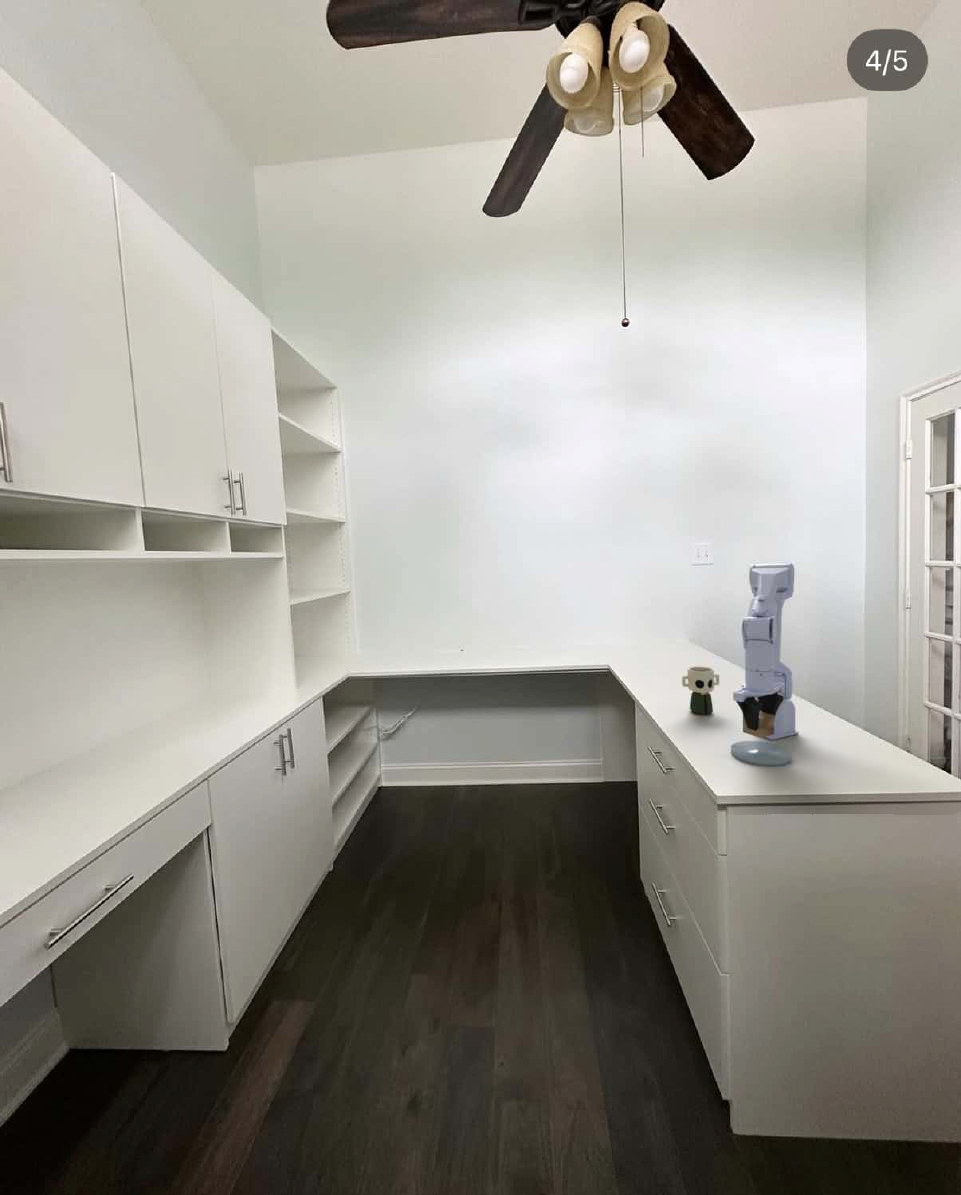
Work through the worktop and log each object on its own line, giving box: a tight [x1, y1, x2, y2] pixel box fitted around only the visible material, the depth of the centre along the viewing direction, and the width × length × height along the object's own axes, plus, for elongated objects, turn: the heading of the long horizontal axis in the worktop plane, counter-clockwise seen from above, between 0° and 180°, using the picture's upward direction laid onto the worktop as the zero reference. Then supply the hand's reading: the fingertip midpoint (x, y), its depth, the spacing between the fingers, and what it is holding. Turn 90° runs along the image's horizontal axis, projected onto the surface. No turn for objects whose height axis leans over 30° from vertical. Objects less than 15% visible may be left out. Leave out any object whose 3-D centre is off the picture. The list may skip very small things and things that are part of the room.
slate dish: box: [730, 740, 792, 767], centre depth 116 cm, size 12×12×1 cm
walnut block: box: [742, 711, 774, 739], centre depth 115 cm, size 4×4×4 cm
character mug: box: [681, 666, 720, 715], centre depth 147 cm, size 11×7×13 cm, turn 90°
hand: (759, 727), depth 115 cm, fingers closed on walnut block, 4 cm apart
